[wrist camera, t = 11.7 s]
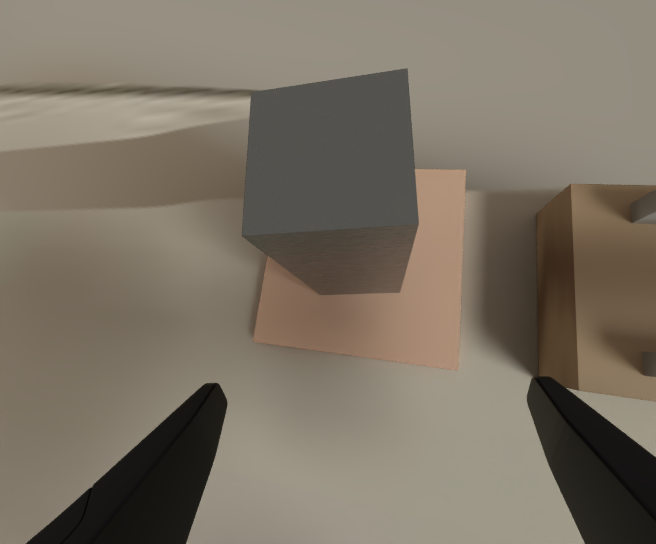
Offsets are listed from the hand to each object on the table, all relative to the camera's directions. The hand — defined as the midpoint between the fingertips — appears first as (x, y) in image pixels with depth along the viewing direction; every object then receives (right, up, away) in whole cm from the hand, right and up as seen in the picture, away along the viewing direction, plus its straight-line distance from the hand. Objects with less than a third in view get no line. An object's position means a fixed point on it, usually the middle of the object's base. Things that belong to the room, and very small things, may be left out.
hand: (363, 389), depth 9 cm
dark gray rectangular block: (0, +4, +7) cm, 8 cm away
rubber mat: (+1, +4, +8) cm, 9 cm away
